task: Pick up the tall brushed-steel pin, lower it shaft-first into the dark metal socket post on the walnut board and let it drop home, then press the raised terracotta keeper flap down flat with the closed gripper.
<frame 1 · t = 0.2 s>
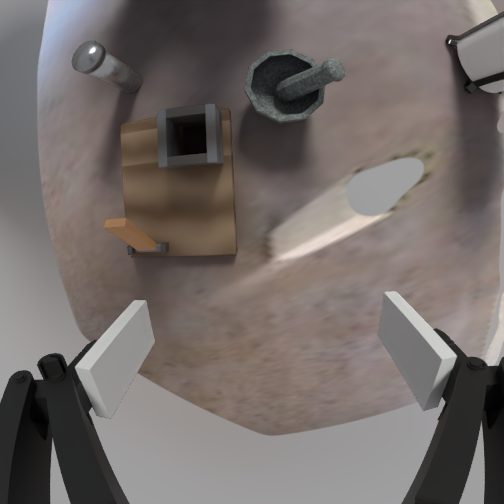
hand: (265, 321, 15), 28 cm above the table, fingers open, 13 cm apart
keeper flap: (134, 237, 36), point 7 cm above the table, hinge at 60.0°
hitch board: (178, 185, 41), on the table
coffee press: (477, 64, 33), on the table
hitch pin: (132, 83, 37), on the table
mortar and pestle: (287, 97, 37), on the table
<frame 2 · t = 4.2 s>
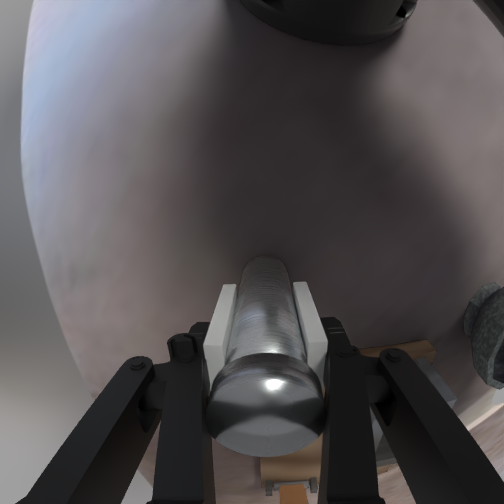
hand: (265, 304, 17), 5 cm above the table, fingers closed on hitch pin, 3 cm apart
hitch board: (335, 425, 26), on the table
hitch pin: (265, 277, 22), on the table, touching gripper
mortar and pestle: (488, 309, 22), on the table
when the fingers open (10 cm above the table, at t = 9.1 s): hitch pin drops 5 cm, resting in hitch board.
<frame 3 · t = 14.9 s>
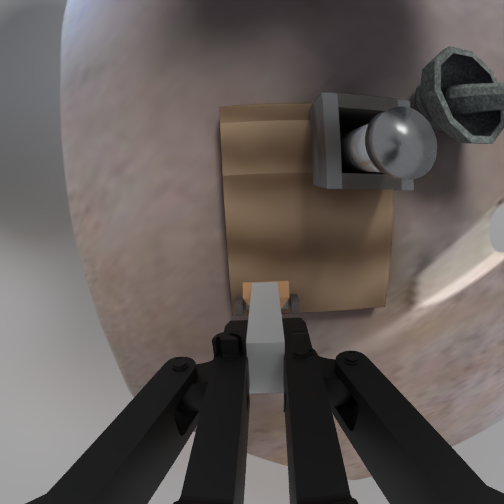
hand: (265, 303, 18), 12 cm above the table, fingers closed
keeper flap: (266, 298, 23), point 7 cm above the table, hinge at 59.9°, touching gripper
hitch board: (310, 209, 28), on the table
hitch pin: (342, 153, 27), resting in hitch board
mortar and pestle: (441, 104, 24), on the table
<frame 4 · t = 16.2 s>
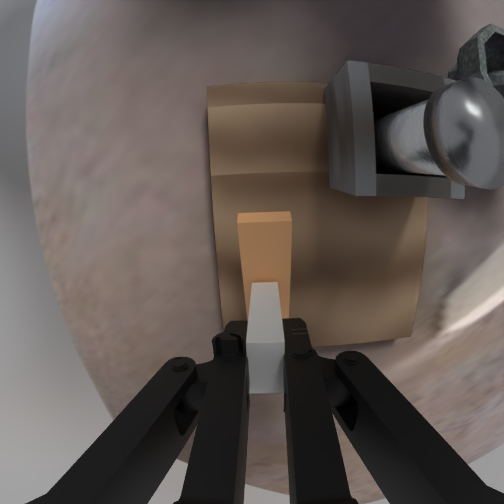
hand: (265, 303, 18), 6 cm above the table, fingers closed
keeper flap: (267, 292, 19), point 5 cm above the table, hinge at 21.8°, touching gripper
hitch board: (324, 218, 22), on the table
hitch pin: (364, 148, 20), resting in hitch board
mortar and pestle: (475, 94, 18), on the table
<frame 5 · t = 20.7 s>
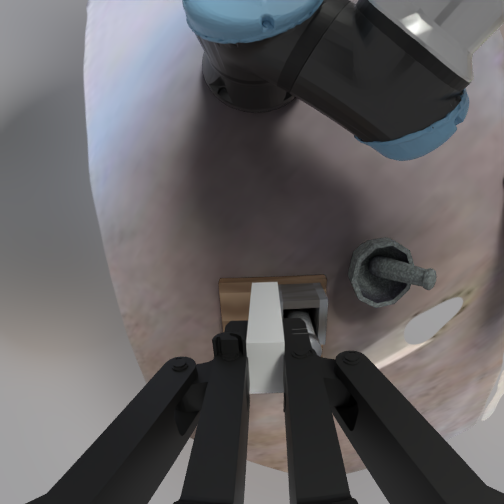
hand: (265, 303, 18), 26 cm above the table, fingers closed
hitch board: (273, 333, 48), on the table
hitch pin: (294, 302, 46), resting in hitch board
mortar and pestle: (372, 259, 44), on the table
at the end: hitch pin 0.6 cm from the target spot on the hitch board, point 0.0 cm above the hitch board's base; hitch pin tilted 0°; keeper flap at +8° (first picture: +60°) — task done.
